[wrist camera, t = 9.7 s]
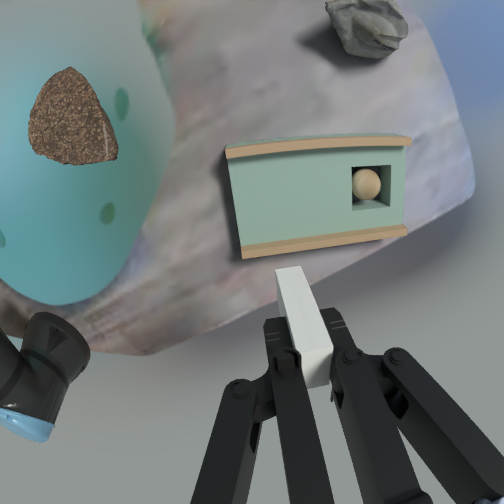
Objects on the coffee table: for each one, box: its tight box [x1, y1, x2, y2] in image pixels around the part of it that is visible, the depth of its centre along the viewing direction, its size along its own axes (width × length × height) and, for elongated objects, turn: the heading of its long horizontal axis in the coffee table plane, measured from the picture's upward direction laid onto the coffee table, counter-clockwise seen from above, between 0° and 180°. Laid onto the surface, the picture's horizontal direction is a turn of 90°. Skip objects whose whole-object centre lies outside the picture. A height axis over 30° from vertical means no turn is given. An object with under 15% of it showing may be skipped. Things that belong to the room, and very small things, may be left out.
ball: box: [352, 169, 381, 200], centre depth 33 cm, size 4×4×4 cm
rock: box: [28, 67, 118, 165], centre depth 25 cm, size 12×10×10 cm
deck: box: [225, 133, 412, 259], centre depth 33 cm, size 22×13×4 cm, turn 97°
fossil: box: [325, 0, 408, 59], centre depth 22 cm, size 11×9×8 cm
